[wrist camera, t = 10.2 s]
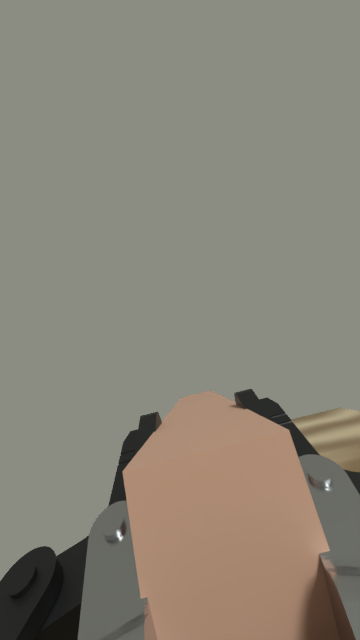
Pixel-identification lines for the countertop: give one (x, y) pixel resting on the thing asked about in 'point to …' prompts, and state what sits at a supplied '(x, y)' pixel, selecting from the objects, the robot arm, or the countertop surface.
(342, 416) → the oak stand
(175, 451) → the terracotta bar
